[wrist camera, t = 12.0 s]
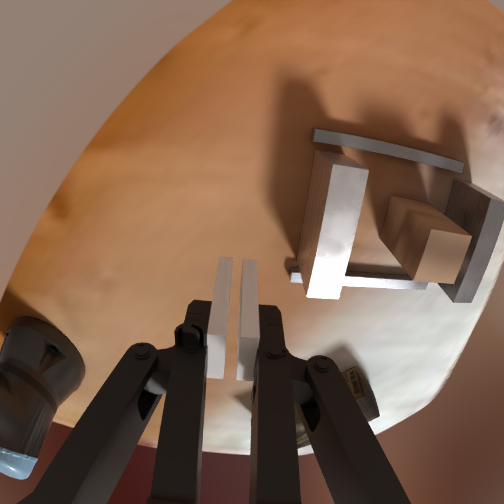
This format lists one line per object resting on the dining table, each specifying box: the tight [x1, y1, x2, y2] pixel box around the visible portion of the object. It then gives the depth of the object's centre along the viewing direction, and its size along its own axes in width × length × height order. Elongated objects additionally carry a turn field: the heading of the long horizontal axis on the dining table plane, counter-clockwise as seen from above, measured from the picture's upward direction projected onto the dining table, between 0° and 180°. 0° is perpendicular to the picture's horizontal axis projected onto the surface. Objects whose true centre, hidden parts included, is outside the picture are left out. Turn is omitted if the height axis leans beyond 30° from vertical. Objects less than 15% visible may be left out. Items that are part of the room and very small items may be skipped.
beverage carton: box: [251, 367, 380, 449], centre depth 44 cm, size 8×19×7 cm, turn 125°
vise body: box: [289, 128, 504, 303], centre depth 29 cm, size 20×16×7 cm
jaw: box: [297, 150, 369, 299], centre depth 29 cm, size 3×12×7 cm, turn 174°
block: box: [380, 196, 472, 284], centre depth 29 cm, size 5×5×9 cm
